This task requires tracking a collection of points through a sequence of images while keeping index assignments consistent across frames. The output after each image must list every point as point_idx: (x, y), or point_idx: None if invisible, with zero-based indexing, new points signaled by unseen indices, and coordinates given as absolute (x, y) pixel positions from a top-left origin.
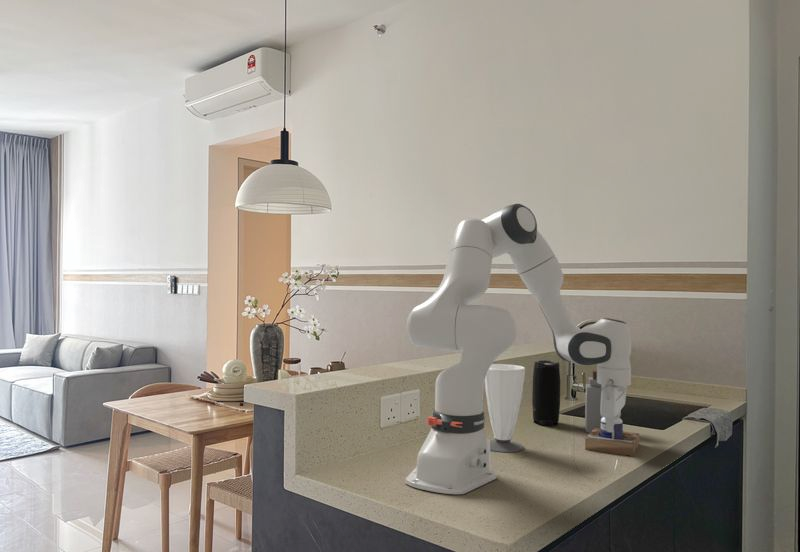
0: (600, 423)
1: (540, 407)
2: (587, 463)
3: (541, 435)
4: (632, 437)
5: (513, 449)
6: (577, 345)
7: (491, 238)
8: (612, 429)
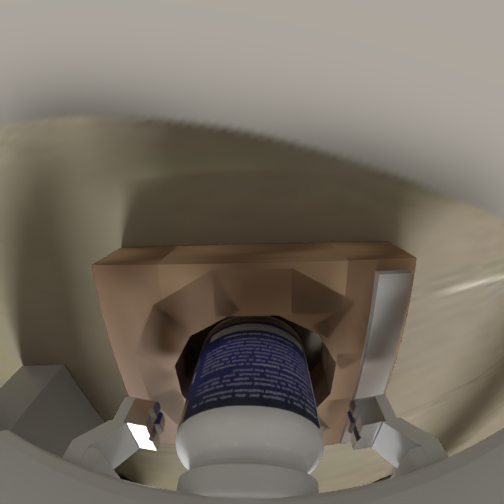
0: (65, 414)
1: None
2: (490, 347)
3: None
4: (225, 289)
5: None
6: None
7: None
8: (388, 405)
